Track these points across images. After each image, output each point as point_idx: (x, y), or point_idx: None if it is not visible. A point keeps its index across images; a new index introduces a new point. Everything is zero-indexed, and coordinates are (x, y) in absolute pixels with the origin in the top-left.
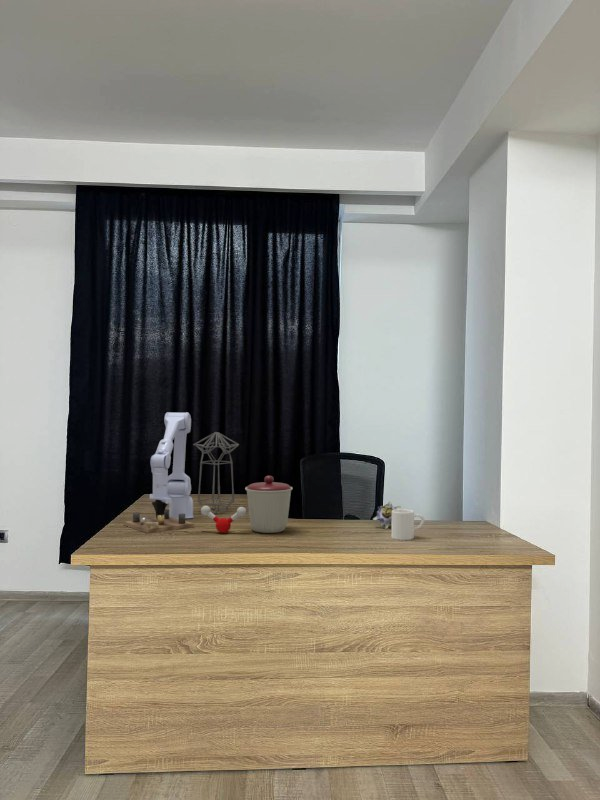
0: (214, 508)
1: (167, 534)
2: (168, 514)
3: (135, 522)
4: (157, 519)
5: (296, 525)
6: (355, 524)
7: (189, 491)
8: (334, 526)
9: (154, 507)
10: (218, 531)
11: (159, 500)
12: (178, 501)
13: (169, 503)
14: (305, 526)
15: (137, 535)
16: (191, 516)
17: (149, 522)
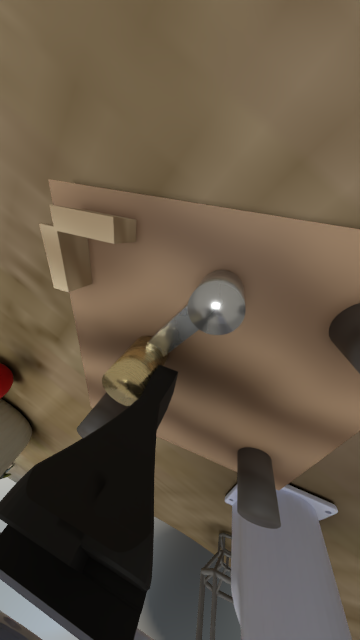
0: (227, 554)
1: (21, 254)
2: (237, 478)
3: (352, 305)
4: (166, 369)
5: (41, 453)
6: (27, 465)
7: None
8: (22, 454)
9: (138, 455)
10: (1, 365)
11: (21, 584)
12: (256, 608)
13: (329, 611)
14: (31, 449)
15: (35, 59)
16: (233, 503)
17: (187, 319)
